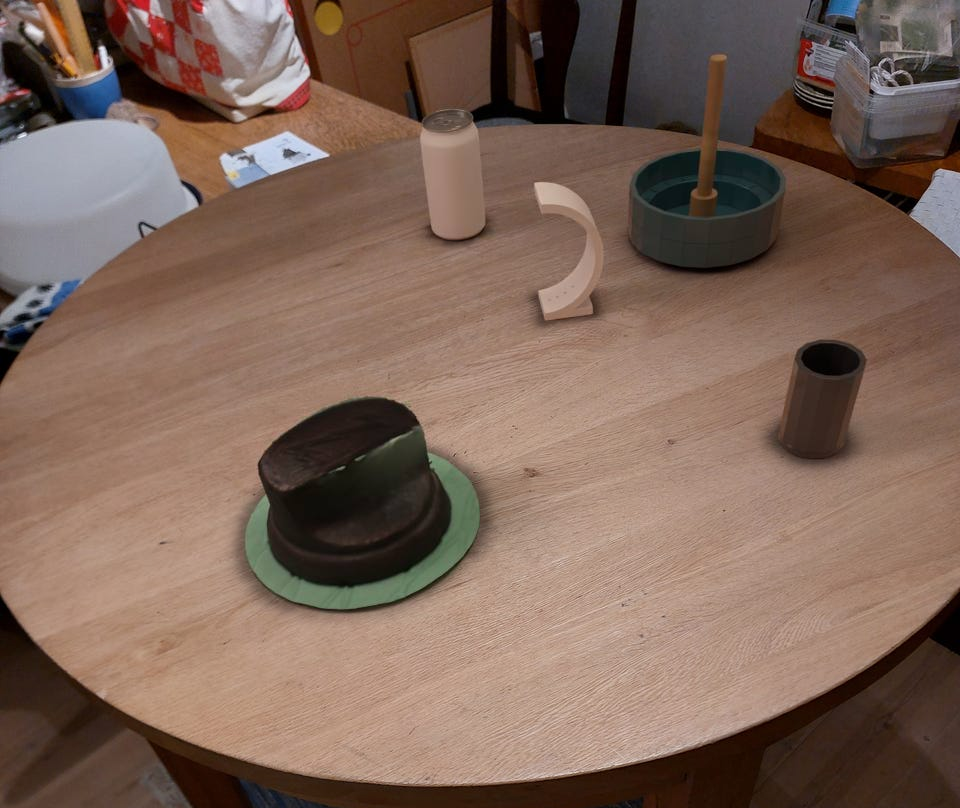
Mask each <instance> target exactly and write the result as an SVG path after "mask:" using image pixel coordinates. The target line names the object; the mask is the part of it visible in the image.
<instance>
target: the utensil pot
mask: <svg viewBox="0 0 960 808" xmlns="http://www.w3.org/2000/svg"><path fill="white" fill-rule="evenodd" d="M867 362H868V359H867V357H866V355H865V353H864V351H863V350H861V349H860V348H858V347H857V346H855V345H853V344H852V343H849V342H847V341H842V340H838V339H817V340H813V341H809V342H805V344H803V345H802V346H801V347H799V348H797V350H796V352H795V355H794V359H793V364H792V367H791V368H792V369H791V372H790V376H789V377H790V378H789V382H788V387H787V391H786V397H785V401H784V405H783V410H782V416H781V420H780V425H779V429H778V441H779V443H780V445H781V446H782V447H783V449H784V450H786V451H787V452H788V453H790V454H792V455H795V456H796V457H800V458H803V459H811V460H816V459H817V460H819V459H825V458H829V457H831V456H834V455H835V454H837V453H838V452H840V451H841V449H842V448H843V446H844V444H845V439H846V436H847V433H848V430H849V429H848V428H849V426H850V422H851V419H852V416H853V413H854V412H853V411H854V408H855V405H856V401H857V397H858V394H859V391H860V388H861V384H862V381H863V377H864V374H865V369H866V367H867Z"/></svg>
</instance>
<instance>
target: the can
mask: <svg viewBox="0 0 960 808" xmlns="http://www.w3.org/2000/svg"><path fill="white" fill-rule="evenodd" d="M421 125H422V129H421V132H420V137H419V142H420V151H421V152H420V153H421V159H422V167H423V175H424V183H425V190H426V198H427V204H428V212H429V220H430V228H431V230H432V232H433V233H434V234H435V235H436V236H437V237H438V238H439V239H442V240H446V241H465V240H467V239H468V240H469V239H471V238H473V237H475V236H478V235H479V234H480V233H481V232H482V230H483V229H484V227H485V226H486V209H485V208H486V206H485V197H484V196H485V195H484V183H483V171H482V160H481V159H482V158H481V148H480V137H479V131H478V127H477V126H476V124H475V122H474V116H473V114H472V113H471V112H470V111H468V110H466V109H460V108H445V109H441V110H436V111H434V112H431V113H429V114H427V115H425V116H424V117H423V118H422V120H421Z"/></svg>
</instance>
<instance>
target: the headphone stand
mask: <svg viewBox="0 0 960 808" xmlns="http://www.w3.org/2000/svg"><path fill="white" fill-rule="evenodd" d="M533 191H534V195H535V198H536V201H537V204H538V208H539V210H540V213H541V215H542V214H554V215H555V214H556V215H561V216H564V217H567V218H569V219H572V220H573V221H575V222H576V223H578V224H579V225H580V226H582V228H583V229H584V230H585V231H586V244H585V248H584V251H583V254H582V256H581V259H580V260H579V262H578V264H577V265H576V267H575V268H574V269H573V270H572V271H571V272H570V274H569V275H568V276H566V277H565V278H564V279H562V280H561V281H560V282H558V283H556V284H554V285H552V286H549V287H546V288H543V289H538V300H539V304H540V307H541V311H542V314H543V315H542V316H543V318H544V321H545V322H546V321H553V320H560V319H567V318H568V319H569V318H574V317H575V318H576V317H581V316H590V315H593V314H594V306H593V303H592V301H591V297H590V296H591V294H592V293H593V292H594V289H595V288H596V287H597V284H598V282H599V281H600V278H601V275H602V271H603V267H604V260H605V258H604V257H605V256H604V254H605V252H604V245H603V240H602V239H601V236H600V233H599V230H598V228H597V225H596V223H595V220H594V217H593V215H592V212H591V210H590V209H589V206H588V205H587V204H586V202H585V201H584V199H582V197H581V196H580V195H578V194H577V193H576V192H575V191H573V190H572V189H570V188H568V187H567V186H565V185H561V184H558V183H555V182H548V181H539V182H536V181H535V182H533Z"/></svg>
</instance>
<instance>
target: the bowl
mask: <svg viewBox="0 0 960 808" xmlns="http://www.w3.org/2000/svg"><path fill="white" fill-rule="evenodd" d="M700 155H701V147H699V148H691V149H680V150H677V151H673V152H670V153H665V154H663V155H659V156H657V157H655V158H652V159H651V160H649V161H647V162H645V163H643V164H642V165H641V166H640V167H639V168H638V169H637V170H636V171H634V173H633V174H632V176H631V179H630V182H629V185H628V186H629V187H628V208H627V209H628V212H627V234H628V237H629V240H630V244H632V245H633V246H634V247H635V248H636V249H637V250H638V251H639V252H640V253H641V254H642V255H645V256H647V257H649V258H651V259H654V260H656V261H658V262H660V263H663V264H669V265H672V266H677V267H682V268H683V267H684V268H701V269H703V268H704V269H706V268H716V267H725V266H732V265H736V264H739V263H742V262H746V261H749V260H752V259H755V257H757V256H759V255H760V254H762V253H764V252H766V251H768V250H769V248H770V247H771V246H772V244H773V243H774V242H775V241H776V240H777V238H778V235H779V234H778V233H779V228H780V222H781V216H782V211H783V205H784V200H785V194H786V187H787V181H788V179H787V177H786V175H785V174H784V172H783V170H782V168H781V167H780V166H778V165H776V164H775V163H774V162H772V161H771V160H769V159H768V158H766V157H763V156H762V155H761V156H760V155H758V154H755V153H752V152H750V151H745V150H740V149H734V148H727V147H726V148H725V147H717V152H716V161H715V170H714V179H713V189H715V190H716V191H717V193H718V194H717V202H716V211H715V216H714V217H700V216H689V209H690V199H691V192H692V191H693V190H694V189H696V188H697V185H698V175H699V165H700Z"/></svg>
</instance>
